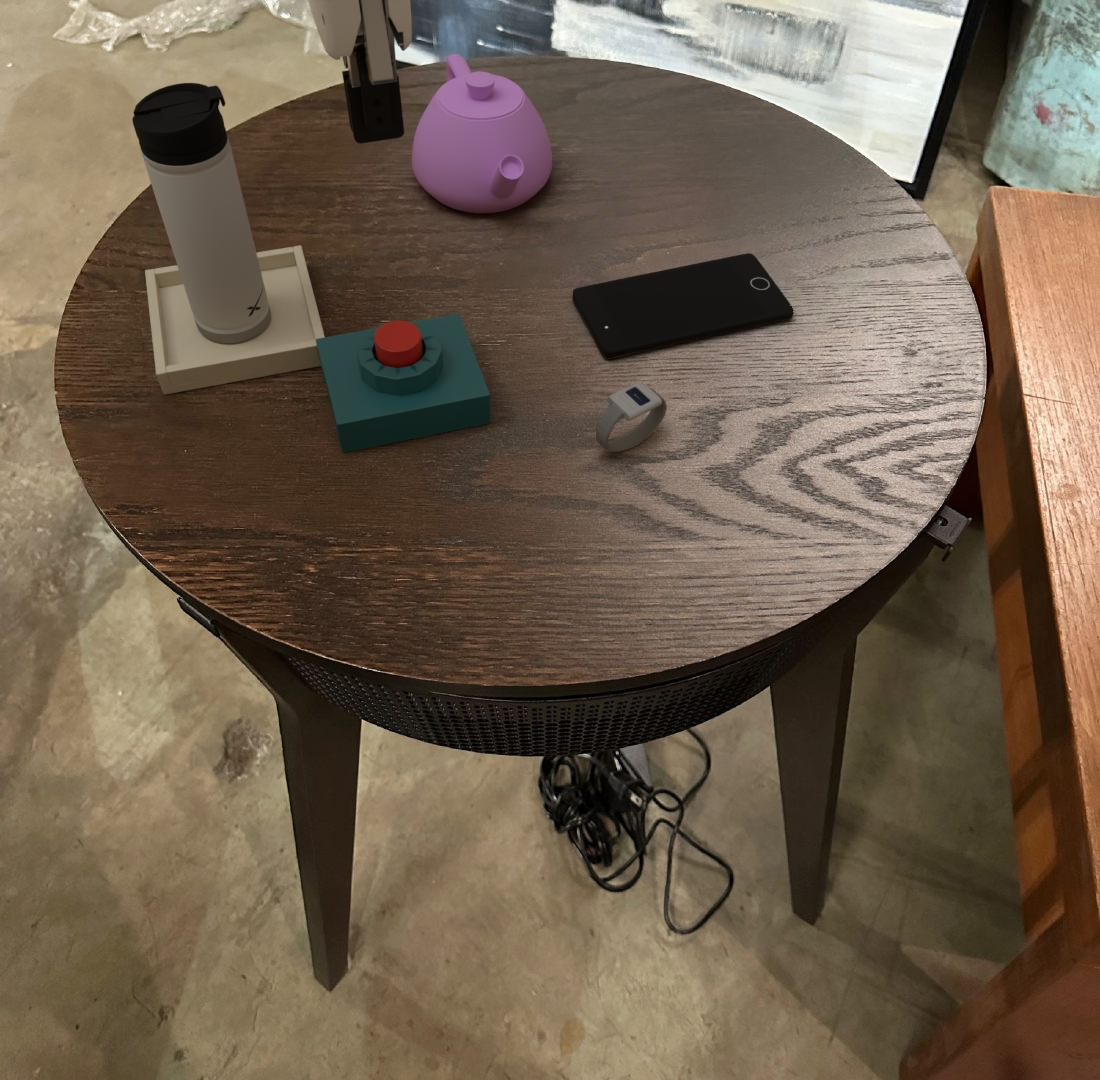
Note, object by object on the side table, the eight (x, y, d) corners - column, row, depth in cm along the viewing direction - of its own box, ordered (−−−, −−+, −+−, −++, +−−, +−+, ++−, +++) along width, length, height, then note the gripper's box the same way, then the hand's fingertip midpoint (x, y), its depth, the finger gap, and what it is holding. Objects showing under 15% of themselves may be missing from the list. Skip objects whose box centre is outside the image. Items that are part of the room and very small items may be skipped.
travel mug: (282, 334, 87) (230, 112, 71) (204, 352, 86) (133, 130, 70) (266, 289, 91) (214, 69, 75) (191, 306, 89) (120, 84, 73)
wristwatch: (609, 470, 80) (614, 425, 76) (587, 448, 81) (591, 403, 77) (669, 437, 82) (677, 391, 78) (647, 416, 84) (654, 371, 80)
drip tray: (163, 395, 84) (155, 374, 82) (152, 290, 91) (144, 269, 90) (330, 364, 86) (326, 343, 84) (305, 265, 94) (301, 244, 92)
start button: (381, 372, 79) (379, 355, 78) (372, 341, 81) (370, 324, 80) (427, 363, 80) (425, 346, 79) (417, 333, 82) (415, 316, 81)
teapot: (446, 256, 95) (439, 152, 87) (393, 141, 107) (382, 40, 98) (585, 230, 99) (591, 127, 90) (519, 121, 110) (519, 20, 101)
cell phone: (794, 319, 91) (796, 311, 90) (605, 361, 87) (605, 353, 86) (750, 259, 96) (752, 251, 95) (570, 296, 92) (570, 288, 91)
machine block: (342, 453, 80) (333, 407, 76) (321, 367, 86) (312, 321, 82) (491, 423, 83) (489, 377, 79) (460, 342, 88) (458, 296, 84)
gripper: (241, -246, 55) (301, 82, 70) (281, -137, 46) (340, 211, 61) (379, -256, 56) (410, 67, 71) (443, -153, 48) (462, 191, 63)
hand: (377, 133), depth 66 cm, fingers closed
